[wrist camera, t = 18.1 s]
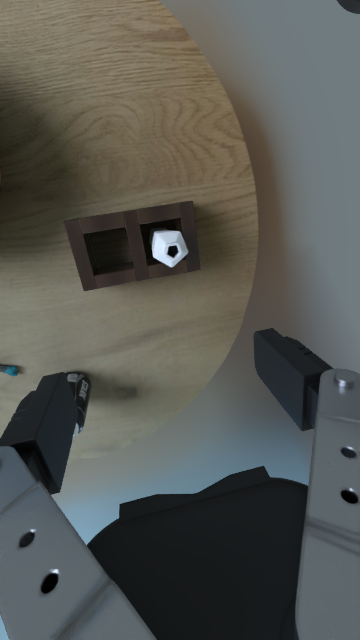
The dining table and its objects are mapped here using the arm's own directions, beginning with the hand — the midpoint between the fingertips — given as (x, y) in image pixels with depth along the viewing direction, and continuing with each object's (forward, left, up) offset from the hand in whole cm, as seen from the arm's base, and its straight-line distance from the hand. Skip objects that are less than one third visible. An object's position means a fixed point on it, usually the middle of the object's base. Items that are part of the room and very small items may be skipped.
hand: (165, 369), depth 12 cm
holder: (0, -1, -38) cm, 38 cm away
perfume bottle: (-4, -1, -38) cm, 39 cm away
